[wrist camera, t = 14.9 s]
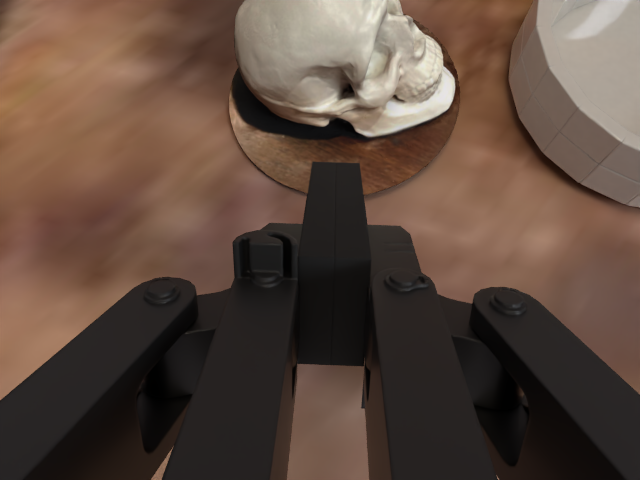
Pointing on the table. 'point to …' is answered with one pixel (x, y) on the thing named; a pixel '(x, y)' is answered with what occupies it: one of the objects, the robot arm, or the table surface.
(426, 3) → the table surface
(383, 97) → the skull
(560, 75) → the saucepan
